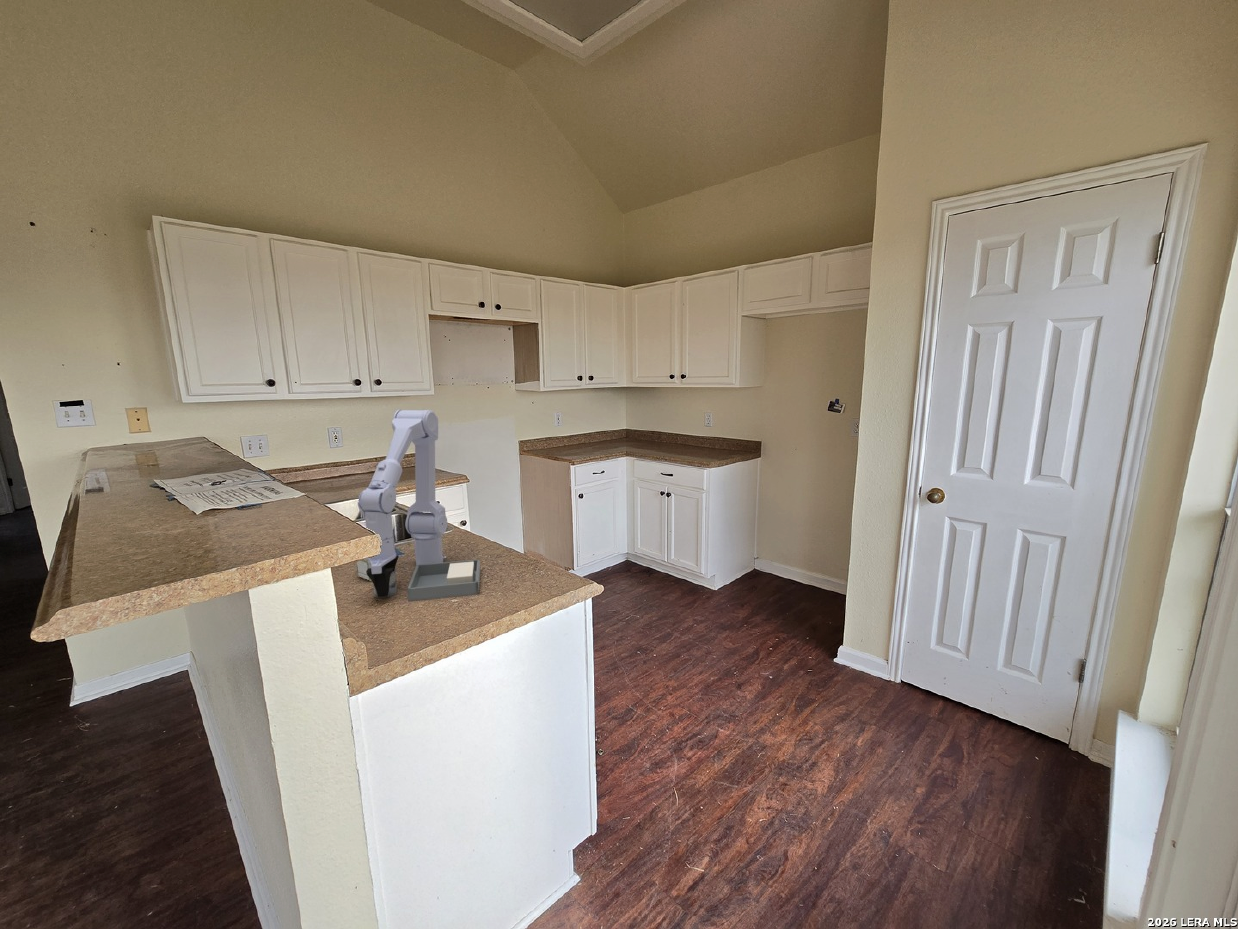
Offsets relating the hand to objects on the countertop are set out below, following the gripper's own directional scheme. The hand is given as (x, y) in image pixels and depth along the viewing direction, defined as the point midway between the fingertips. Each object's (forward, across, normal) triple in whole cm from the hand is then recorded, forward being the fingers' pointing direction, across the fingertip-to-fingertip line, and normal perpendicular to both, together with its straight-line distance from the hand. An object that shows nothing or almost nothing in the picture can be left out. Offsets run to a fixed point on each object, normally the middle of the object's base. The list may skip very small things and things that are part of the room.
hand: (385, 591), depth 127 cm
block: (+1, -2, +18) cm, 18 cm away
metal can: (+2, 0, 0) cm, 2 cm away
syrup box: (+2, -15, -6) cm, 16 cm away
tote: (+2, -2, +14) cm, 14 cm away
